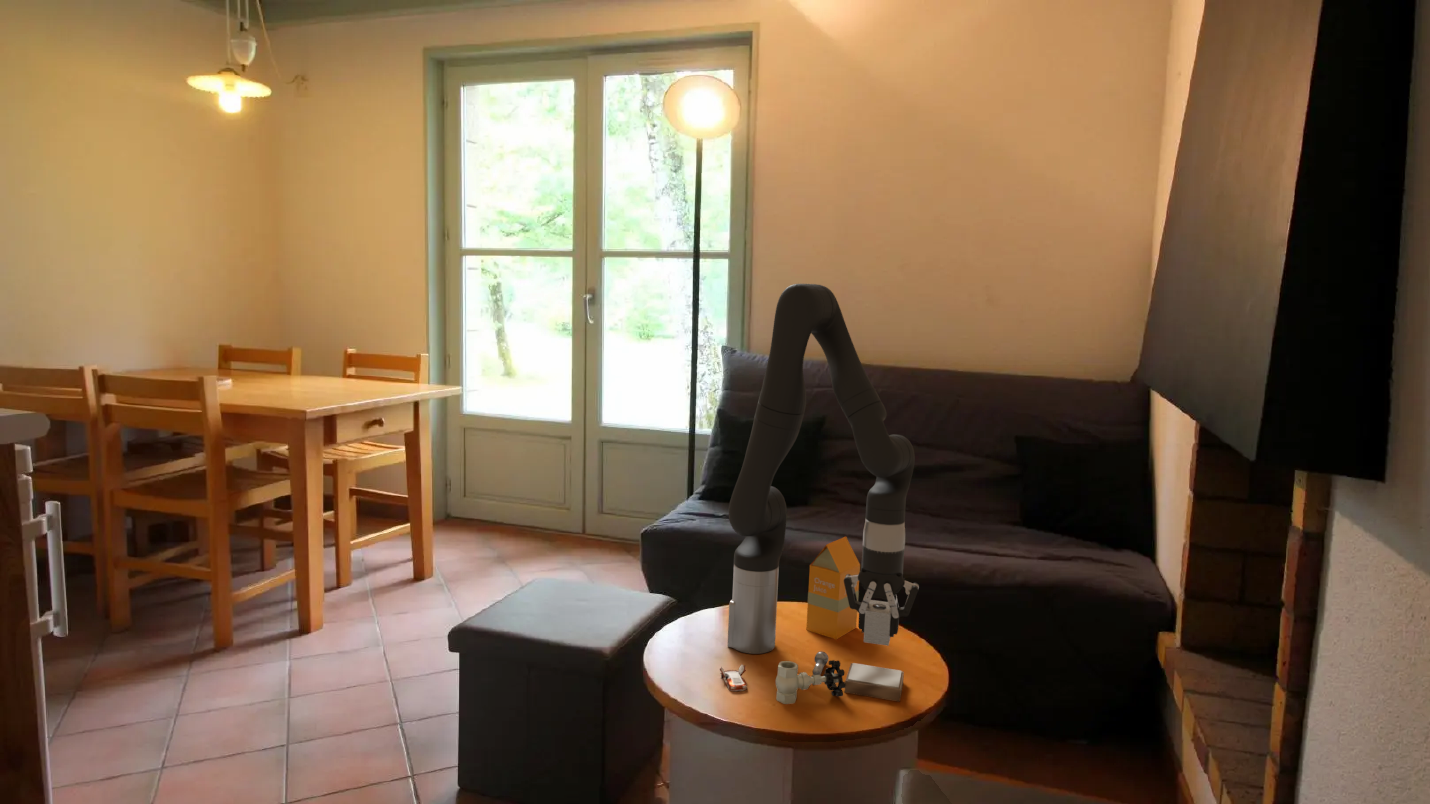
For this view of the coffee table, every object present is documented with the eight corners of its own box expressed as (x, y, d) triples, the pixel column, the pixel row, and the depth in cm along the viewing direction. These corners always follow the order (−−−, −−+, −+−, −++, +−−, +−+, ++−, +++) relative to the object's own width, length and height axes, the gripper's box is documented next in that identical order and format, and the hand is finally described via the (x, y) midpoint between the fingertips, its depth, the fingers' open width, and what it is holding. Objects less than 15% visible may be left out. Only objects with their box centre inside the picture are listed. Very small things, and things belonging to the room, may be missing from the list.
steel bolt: (823, 677, 162) (823, 664, 161) (809, 675, 162) (810, 662, 162) (828, 664, 167) (828, 652, 167) (815, 662, 168) (815, 650, 168)
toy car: (740, 673, 163) (741, 657, 163) (752, 692, 155) (753, 676, 155) (714, 674, 162) (715, 659, 161) (724, 694, 154) (725, 678, 154)
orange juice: (856, 627, 187) (862, 539, 184) (836, 639, 180) (842, 548, 177) (826, 618, 191) (831, 532, 189) (805, 629, 184) (810, 540, 182)
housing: (863, 642, 155) (865, 609, 154) (867, 629, 160) (869, 598, 160) (888, 645, 154) (890, 613, 153) (891, 633, 159) (893, 601, 158)
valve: (781, 709, 149) (844, 703, 152) (783, 674, 148) (846, 668, 151) (769, 692, 155) (830, 686, 158) (771, 657, 154) (832, 653, 157)
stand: (844, 692, 156) (845, 679, 156) (850, 673, 164) (851, 661, 163) (899, 701, 153) (900, 688, 153) (903, 682, 161) (904, 670, 160)
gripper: (841, 545, 153) (836, 635, 155) (922, 554, 149) (916, 647, 151) (847, 534, 160) (842, 620, 162) (924, 543, 156) (918, 631, 158)
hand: (878, 633), depth 157 cm, fingers closed on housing, 4 cm apart
